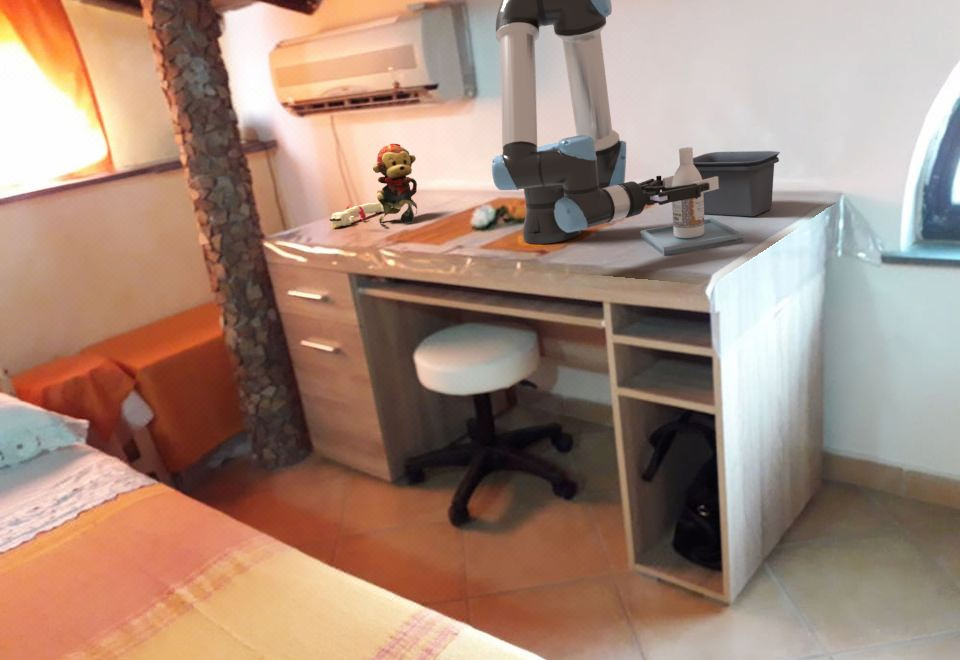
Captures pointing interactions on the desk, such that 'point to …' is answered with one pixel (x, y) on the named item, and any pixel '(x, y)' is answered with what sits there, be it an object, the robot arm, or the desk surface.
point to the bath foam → (690, 210)
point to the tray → (712, 237)
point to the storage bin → (738, 181)
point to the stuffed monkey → (396, 181)
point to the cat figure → (355, 213)
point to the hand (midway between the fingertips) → (701, 180)
